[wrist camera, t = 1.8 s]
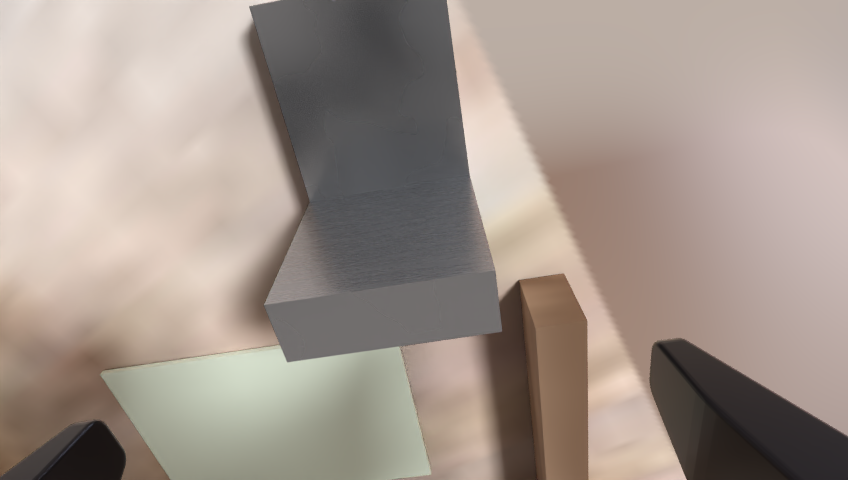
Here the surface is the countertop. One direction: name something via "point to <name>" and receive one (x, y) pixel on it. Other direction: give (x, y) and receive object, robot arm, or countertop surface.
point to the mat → (276, 416)
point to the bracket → (375, 180)
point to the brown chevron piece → (556, 377)
